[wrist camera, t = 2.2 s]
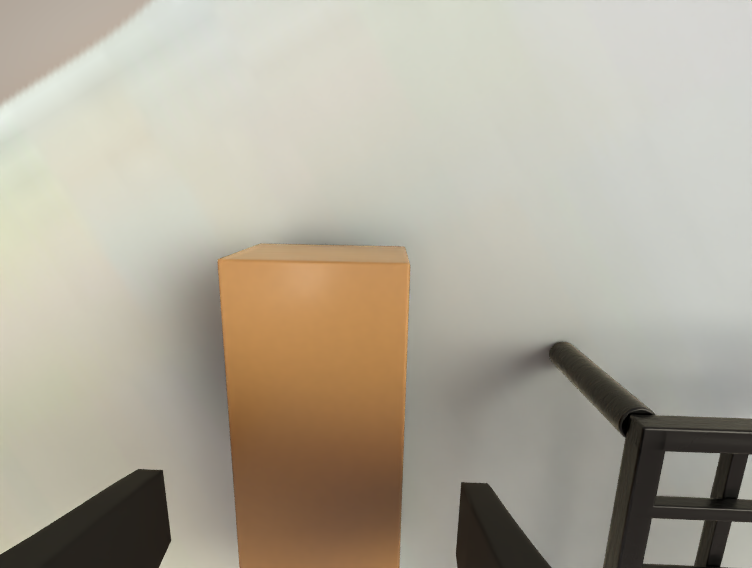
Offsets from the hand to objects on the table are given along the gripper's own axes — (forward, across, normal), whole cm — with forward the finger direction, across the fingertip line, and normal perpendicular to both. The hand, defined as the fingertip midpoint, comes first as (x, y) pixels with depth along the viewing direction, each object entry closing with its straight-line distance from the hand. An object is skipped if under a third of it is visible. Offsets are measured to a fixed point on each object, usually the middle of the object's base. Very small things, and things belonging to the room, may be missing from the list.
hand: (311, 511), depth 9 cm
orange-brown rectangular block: (+5, 0, 0) cm, 5 cm away
